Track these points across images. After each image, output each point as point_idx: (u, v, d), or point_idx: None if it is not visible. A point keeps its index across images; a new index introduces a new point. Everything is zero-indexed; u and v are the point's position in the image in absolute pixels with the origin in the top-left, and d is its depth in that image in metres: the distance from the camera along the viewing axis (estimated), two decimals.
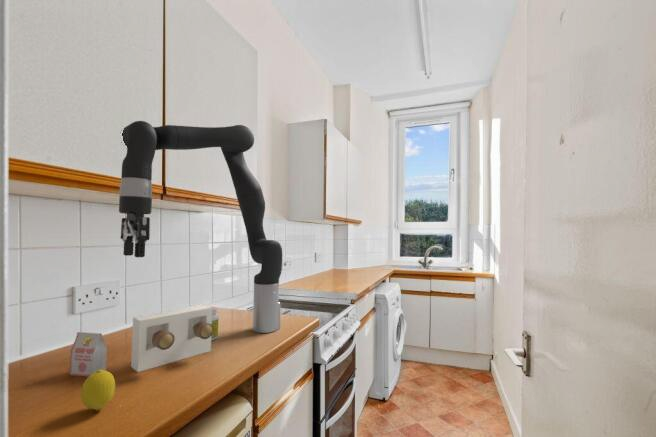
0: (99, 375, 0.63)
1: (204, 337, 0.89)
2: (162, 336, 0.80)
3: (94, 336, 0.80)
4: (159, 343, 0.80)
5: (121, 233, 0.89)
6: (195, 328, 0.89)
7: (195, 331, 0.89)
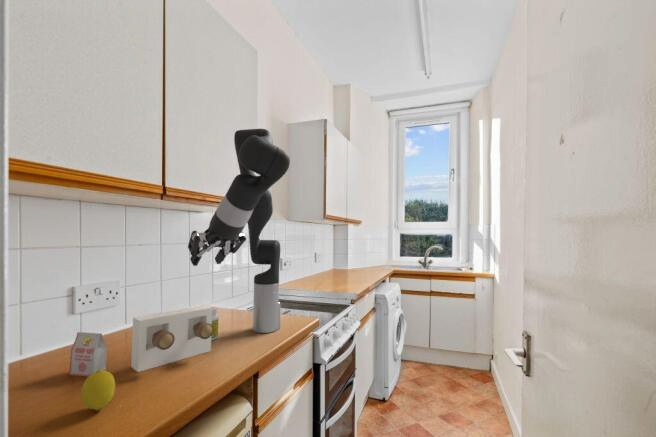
0: (99, 375, 0.63)
1: (204, 337, 0.89)
2: (162, 336, 0.80)
3: (94, 336, 0.80)
4: (159, 343, 0.80)
5: (194, 250, 0.74)
6: (195, 328, 0.89)
7: (195, 331, 0.89)
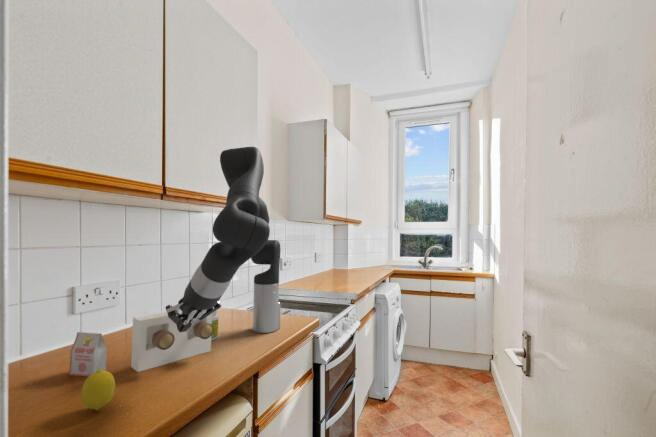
0: (99, 375, 0.63)
1: (204, 337, 0.89)
2: (162, 336, 0.80)
3: (94, 336, 0.80)
4: (159, 343, 0.80)
5: (177, 322, 0.70)
6: (195, 328, 0.89)
7: (195, 331, 0.89)
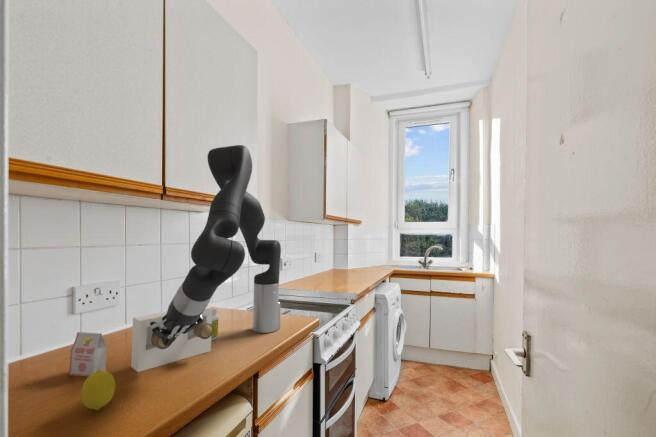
0: (99, 375, 0.63)
1: (204, 337, 0.89)
2: None
3: (94, 336, 0.80)
4: (158, 343, 0.80)
5: (161, 336, 0.75)
6: (195, 328, 0.89)
7: (195, 331, 0.89)
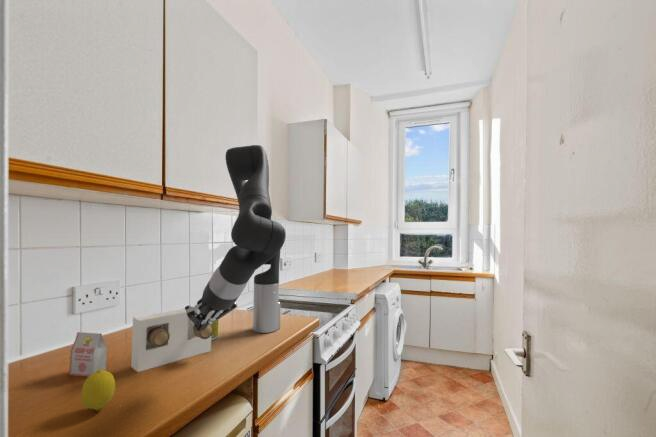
0: (99, 375, 0.63)
1: (204, 337, 0.89)
2: (157, 333, 0.82)
3: (94, 336, 0.80)
4: (154, 340, 0.82)
5: (195, 321, 0.73)
6: (195, 328, 0.89)
7: (195, 331, 0.89)
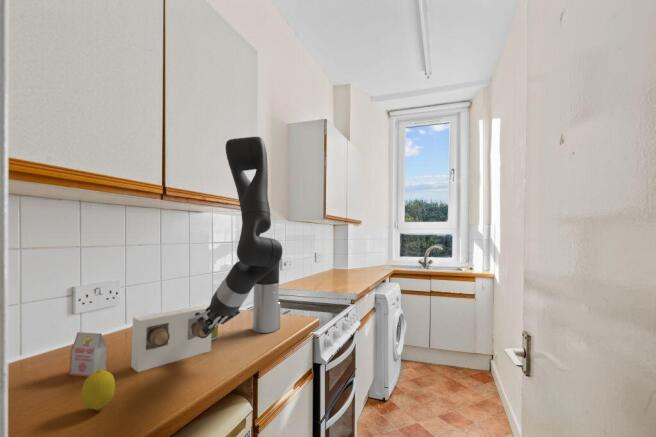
0: (99, 375, 0.63)
1: (202, 336, 0.90)
2: (157, 333, 0.82)
3: (94, 336, 0.80)
4: (154, 340, 0.82)
5: (204, 326, 0.84)
6: (193, 327, 0.90)
7: (193, 330, 0.90)
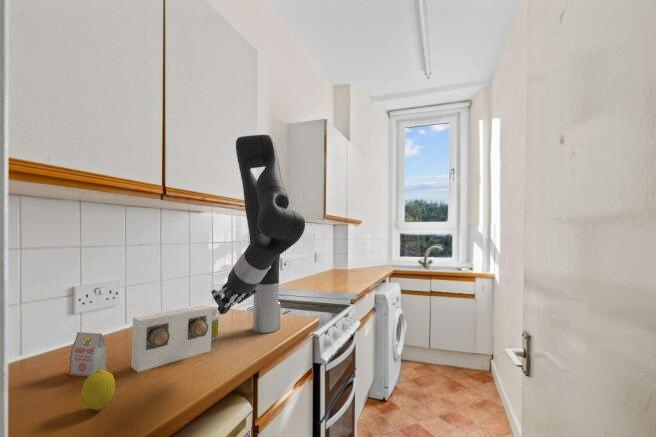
0: (99, 375, 0.63)
1: (199, 335, 0.91)
2: (157, 333, 0.82)
3: (94, 336, 0.80)
4: (154, 340, 0.82)
5: (220, 304, 0.80)
6: (190, 326, 0.91)
7: (190, 329, 0.91)
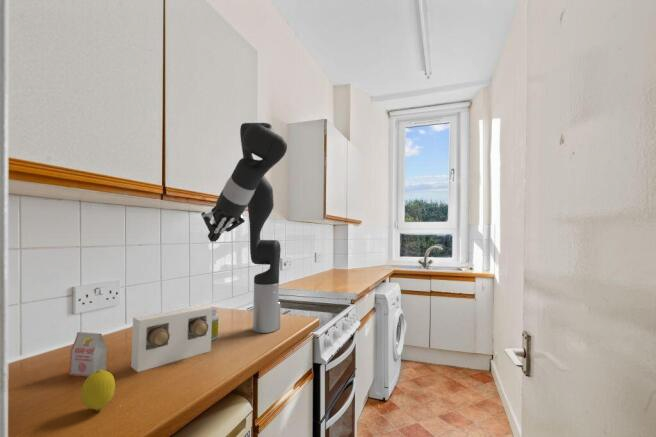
0: (99, 375, 0.63)
1: (199, 335, 0.91)
2: (157, 333, 0.82)
3: (94, 336, 0.80)
4: (154, 340, 0.82)
5: (210, 228, 0.86)
6: (190, 326, 0.91)
7: (190, 329, 0.91)
